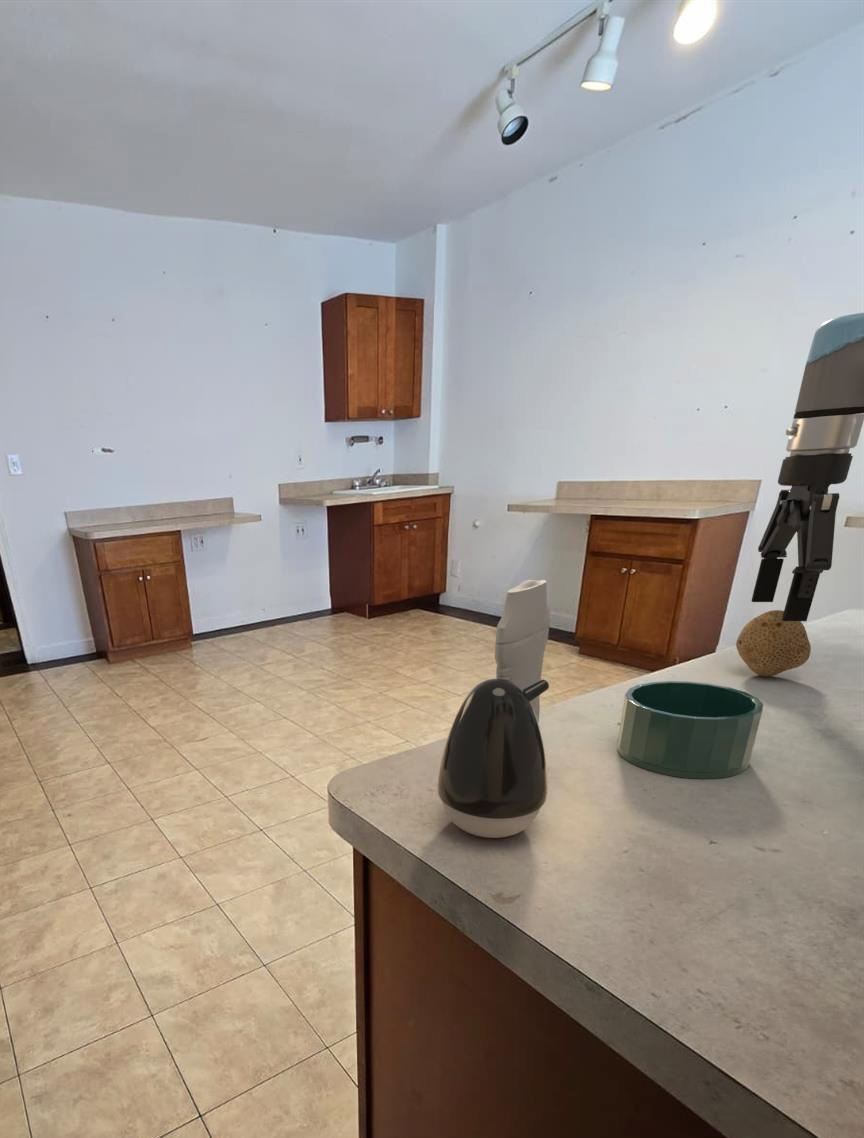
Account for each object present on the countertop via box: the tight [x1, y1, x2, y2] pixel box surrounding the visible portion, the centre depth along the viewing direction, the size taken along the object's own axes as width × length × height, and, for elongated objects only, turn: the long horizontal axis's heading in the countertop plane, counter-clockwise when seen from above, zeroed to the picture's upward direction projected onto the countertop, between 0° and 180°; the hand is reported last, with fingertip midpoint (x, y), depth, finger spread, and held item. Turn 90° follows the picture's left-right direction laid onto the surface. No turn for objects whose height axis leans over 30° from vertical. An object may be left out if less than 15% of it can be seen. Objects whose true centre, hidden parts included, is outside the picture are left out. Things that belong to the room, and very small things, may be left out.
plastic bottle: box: [494, 579, 551, 725], centre depth 69 cm, size 11×4×22 cm, turn 135°
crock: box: [616, 680, 764, 780], centre depth 74 cm, size 13×13×7 cm
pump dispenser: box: [437, 677, 550, 839], centre depth 61 cm, size 10×10×15 cm
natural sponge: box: [735, 609, 812, 677], centre depth 97 cm, size 9×9×10 cm
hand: (776, 610), depth 95 cm, fingers open, 13 cm apart
